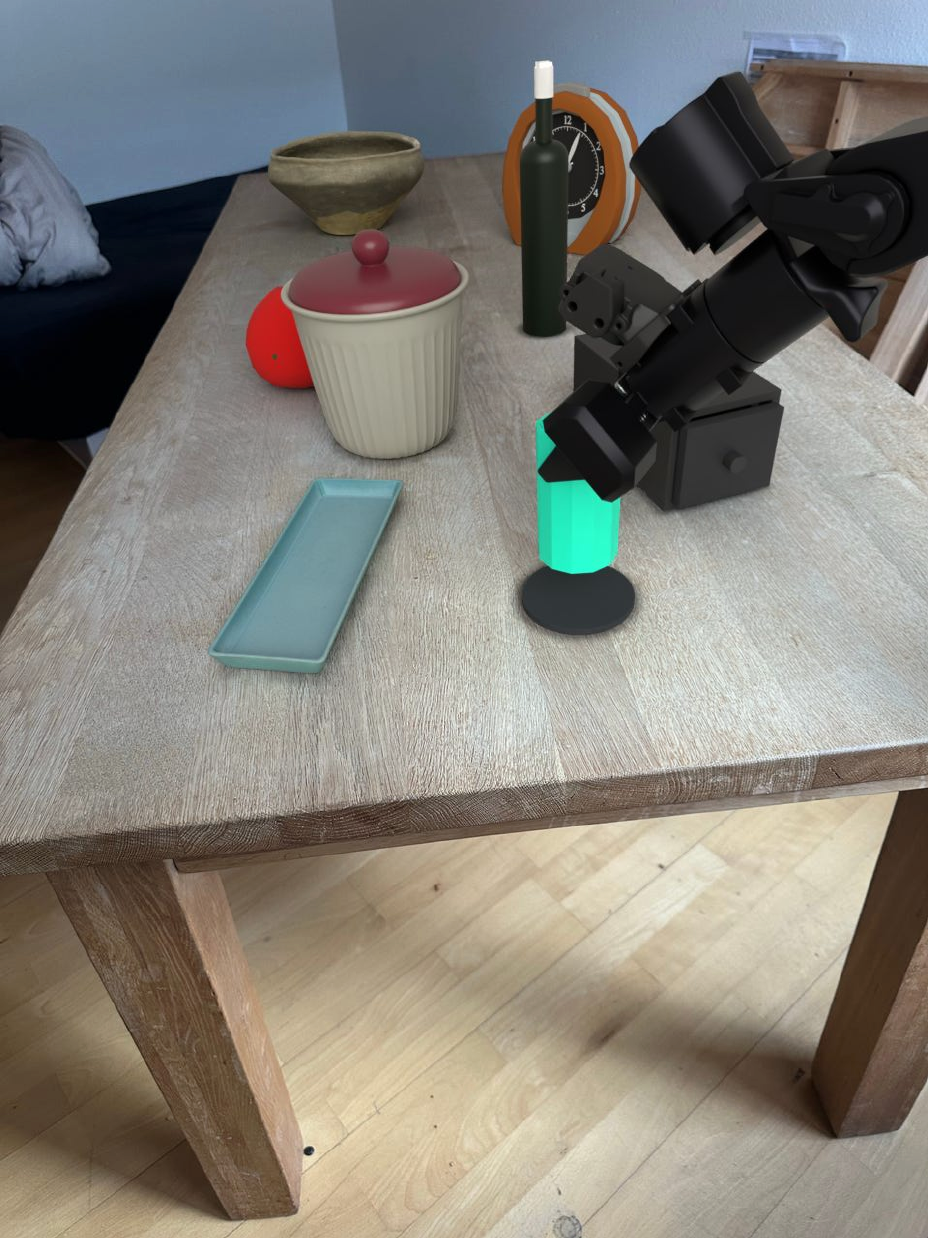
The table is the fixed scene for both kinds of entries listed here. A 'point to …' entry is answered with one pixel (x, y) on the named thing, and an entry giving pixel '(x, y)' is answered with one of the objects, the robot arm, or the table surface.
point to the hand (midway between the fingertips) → (561, 456)
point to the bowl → (347, 177)
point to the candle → (573, 520)
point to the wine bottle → (543, 216)
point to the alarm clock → (582, 165)
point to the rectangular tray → (308, 578)
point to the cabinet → (661, 475)
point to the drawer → (726, 453)
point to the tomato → (277, 344)
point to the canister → (382, 343)
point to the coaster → (578, 600)
